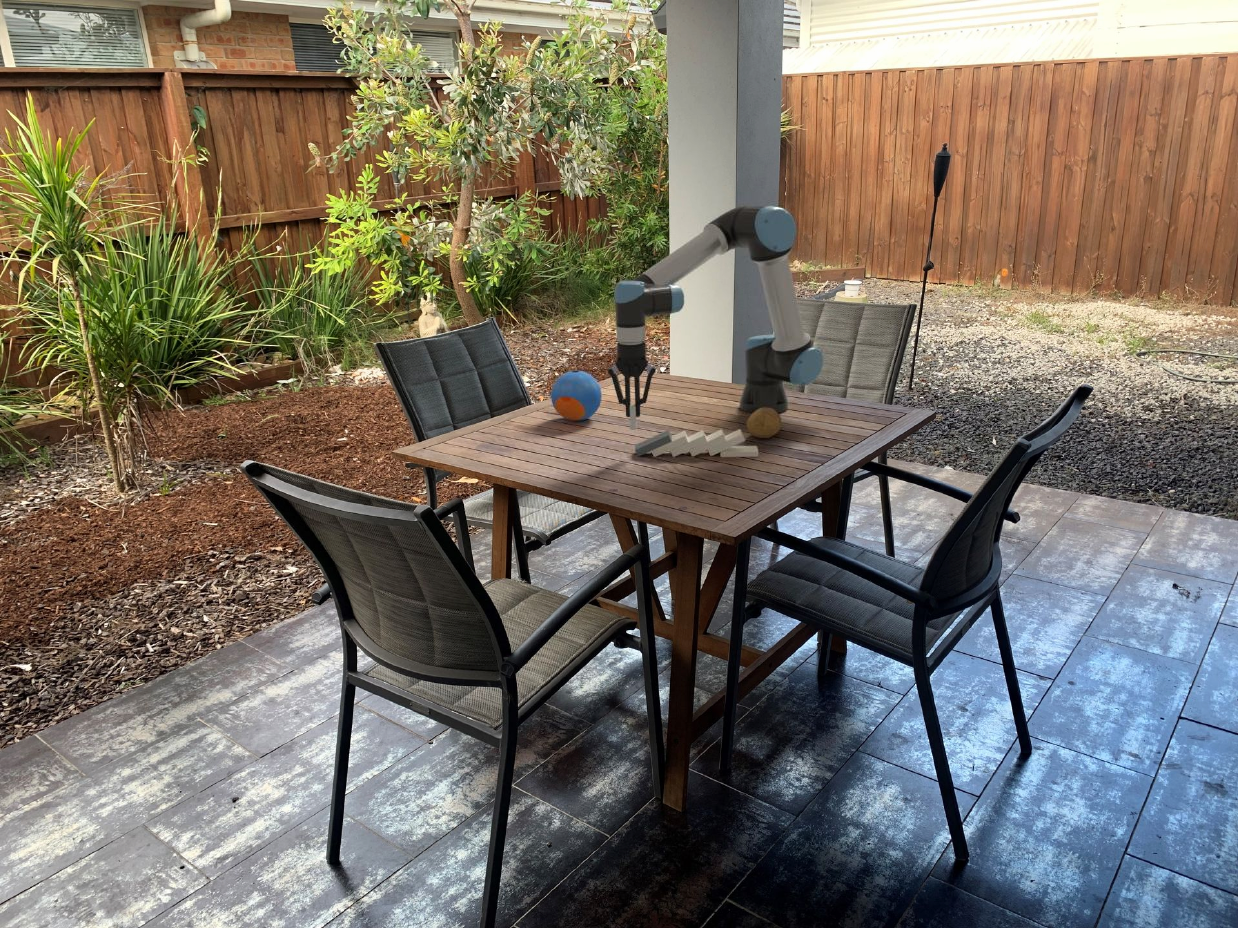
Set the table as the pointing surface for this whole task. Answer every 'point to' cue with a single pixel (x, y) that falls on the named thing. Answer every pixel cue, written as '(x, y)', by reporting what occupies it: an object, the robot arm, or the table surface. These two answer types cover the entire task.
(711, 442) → the domino
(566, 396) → the treat dispenser ball
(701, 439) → the domino
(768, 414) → the potato
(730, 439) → the domino
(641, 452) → the domino
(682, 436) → the domino
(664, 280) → the robot arm
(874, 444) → the table surface
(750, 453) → the domino
